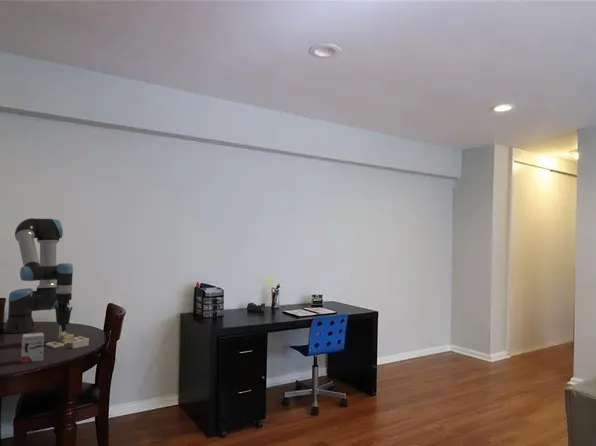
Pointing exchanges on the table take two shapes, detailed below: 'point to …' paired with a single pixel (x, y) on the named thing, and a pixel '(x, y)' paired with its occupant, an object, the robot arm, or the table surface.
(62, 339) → the maple block
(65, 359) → the table surface
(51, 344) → the trap pits
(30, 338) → the ink box
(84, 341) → the block
